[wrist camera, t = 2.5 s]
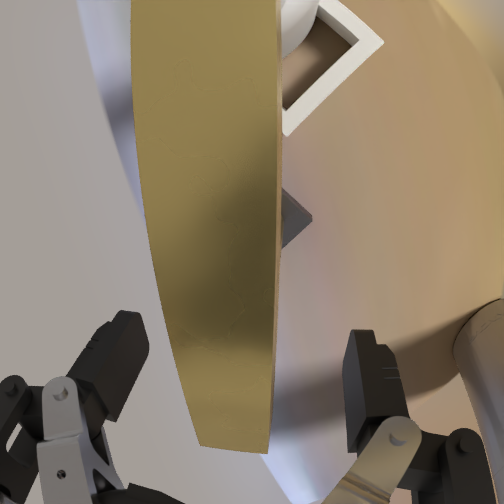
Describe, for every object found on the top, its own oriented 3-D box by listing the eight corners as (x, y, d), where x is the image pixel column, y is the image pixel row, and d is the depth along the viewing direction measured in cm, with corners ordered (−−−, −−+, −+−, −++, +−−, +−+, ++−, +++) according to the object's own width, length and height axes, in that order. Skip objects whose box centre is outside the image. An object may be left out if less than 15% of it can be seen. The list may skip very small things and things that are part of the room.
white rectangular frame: (374, 48, 15) (384, 42, 13) (288, 131, 19) (287, 136, 17) (251, -45, 13) (246, -61, 11) (170, 38, 17) (155, 33, 14)
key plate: (311, 215, 21) (312, 221, 20) (271, 252, 23) (270, 259, 22) (267, 175, 20) (266, 179, 19) (229, 216, 22) (226, 221, 21)
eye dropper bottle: (218, 17, 16) (127, -55, 5) (306, -2, 14) (316, -105, 4) (234, 77, 18) (153, 59, 7) (323, 59, 16) (363, 12, 6)
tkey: (245, -10, 14) (151, -149, 2) (288, -11, 13) (266, -168, 1) (250, 262, 22) (200, 445, 10) (286, 263, 22) (267, 454, 10)
